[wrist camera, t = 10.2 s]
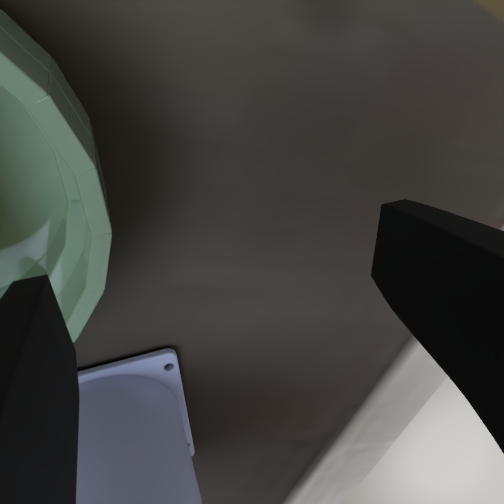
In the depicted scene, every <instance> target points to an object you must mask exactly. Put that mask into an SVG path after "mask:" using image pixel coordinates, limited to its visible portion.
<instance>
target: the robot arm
mask: <svg viewBox="0 0 504 504" xmlns="http://www.w3.org/2000/svg"><path fill="white" fill-rule="evenodd" d="M371 276H372V278H373V280H374V281H375V283H376V285H377V286H378V288H379V290H380V291H381V293H382V295H383V296H384V298H385V299H386V301H387V302H388V304H389V305H390V307H391V309H392V310H393V311H394V312H395V314H396V315H397V316H398V317H399V319H400V320H401V321H402V322H403V323H404V325H405V326H406V327H407V328H408V329H409V331H410V332H411V333H412V334H413V335H414V337H415V338H416V339H417V340H418V341H419V342H420V344H421V345H422V346H423V347H424V348H425V349H426V351H427V352H428V353H429V354H430V355H431V356H432V358H433V359H434V360H435V361H436V362H437V363H438V365H439V366H440V367H441V368H442V369H443V370H444V372H445V373H446V374H447V375H448V376H449V377H450V379H451V380H452V381H453V382H454V383H455V384H456V386H457V387H458V388H459V390H460V391H461V392H462V394H463V395H464V396H465V397H466V399H467V400H468V401H469V403H470V404H471V406H472V407H473V409H474V410H475V411H476V413H477V414H478V416H479V417H480V419H481V420H482V422H483V423H484V424H485V426H486V427H487V429H488V430H489V432H490V433H491V435H492V436H493V437H494V439H495V441H496V442H497V444H498V445H499V447H500V448H501V450H502V452H503V453H504V231H502V230H499V229H496V228H493V227H490V226H487V225H484V224H481V223H478V222H476V221H473V220H470V219H467V218H464V217H461V216H458V215H455V214H452V213H450V212H447V211H444V210H441V209H438V208H434V207H431V206H428V205H425V204H422V203H418V202H414V201H410V200H405V199H404V200H399V201H395V202H390V203H385V204H382V205H381V211H380V218H379V225H378V232H377V238H376V245H375V252H374V258H373V265H372V272H371ZM170 363H171V364H170ZM166 364H169V365H166ZM194 453H195V451H194V445H193V440H192V435H191V429H190V424H189V419H188V413H187V408H186V403H185V397H184V392H183V387H182V381H181V376H180V370H179V365H178V360H177V355H176V352H175V351H174V350H173V349H170V348H167V349H162V350H158V351H154V352H151V353H147V354H143V355H139V356H135V357H132V358H128V359H124V360H120V361H116V362H113V363H109V364H105V365H101V366H97V367H94V368H90V369H86V370H82V371H78V372H77V362H76V352H75V348H74V345H73V342H72V339H71V337H70V334H69V331H68V329H67V326H66V323H65V320H64V318H63V315H62V312H61V310H60V307H59V304H58V302H57V299H56V296H55V293H54V291H53V288H52V285H51V283H50V280H49V277H48V274H45V275H41V276H36V277H31V278H26V279H21V280H17V281H13V282H12V283H11V285H10V286H9V287H8V289H7V290H6V292H5V293H4V294H3V296H2V297H1V299H0V504H202V500H201V496H200V492H199V488H198V484H197V480H196V475H195V471H194V467H193V463H192V459H191V457H192V456H193V455H194Z"/></svg>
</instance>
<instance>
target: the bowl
mask: <svg viewBox="0 0 504 504" xmlns="http://www.w3.org/2000/svg"><path fill="white" fill-rule="evenodd" d="M111 241H112V227H111V221H110V214H109V208H108V202H107V195H106V189H105V183H104V176H103V171H102V166H101V162H100V158H99V154H98V150H97V146H96V142H95V137H94V133H93V129H92V125H91V121H90V119H89V116H88V114H87V113H86V111H85V109H84V108H83V106H82V104H81V103H80V101H79V99H78V98H77V96H76V95H75V93H74V91H73V90H72V88H71V86H70V85H69V83H68V81H67V80H66V78H65V77H64V75H63V73H62V72H61V70H60V68H59V67H58V65H57V63H56V62H55V60H54V59H52V57H51V55H50V54H49V53H48V52H47V51H45V50H44V49H43V48H42V47H41V46H40V45H39V44H38V43H37V42H36V41H35V40H34V39H33V38H32V37H31V36H30V35H28V34H27V33H26V32H25V31H24V30H23V29H22V28H21V27H20V26H19V25H18V24H17V23H16V22H15V21H14V20H12V19H11V18H10V17H9V16H8V15H7V14H6V13H5V12H4V11H3V10H2V9H1V8H0V299H1V297H2V296H3V294H4V293H5V292H6V290H7V289H8V287H9V286H10V285H11V283H12V282H13V281H17V280H21V279H26V278H31V277H36V276H41V275H45V274H48V277H49V280H50V283H51V285H52V288H53V291H54V293H55V296H56V299H57V302H58V304H59V307H60V310H61V312H62V315H63V318H64V320H65V323H66V326H67V329H68V331H69V334H70V337H71V339H72V342H73V343H74V342H75V341H76V340H77V338H78V337H79V335H80V333H81V332H82V330H83V328H84V326H85V324H86V323H87V321H88V319H89V317H90V316H91V314H92V312H93V310H94V308H95V307H96V305H97V303H98V301H99V300H100V298H101V296H102V294H103V292H104V289H105V285H106V278H107V270H108V263H109V256H110V248H111Z"/></svg>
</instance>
